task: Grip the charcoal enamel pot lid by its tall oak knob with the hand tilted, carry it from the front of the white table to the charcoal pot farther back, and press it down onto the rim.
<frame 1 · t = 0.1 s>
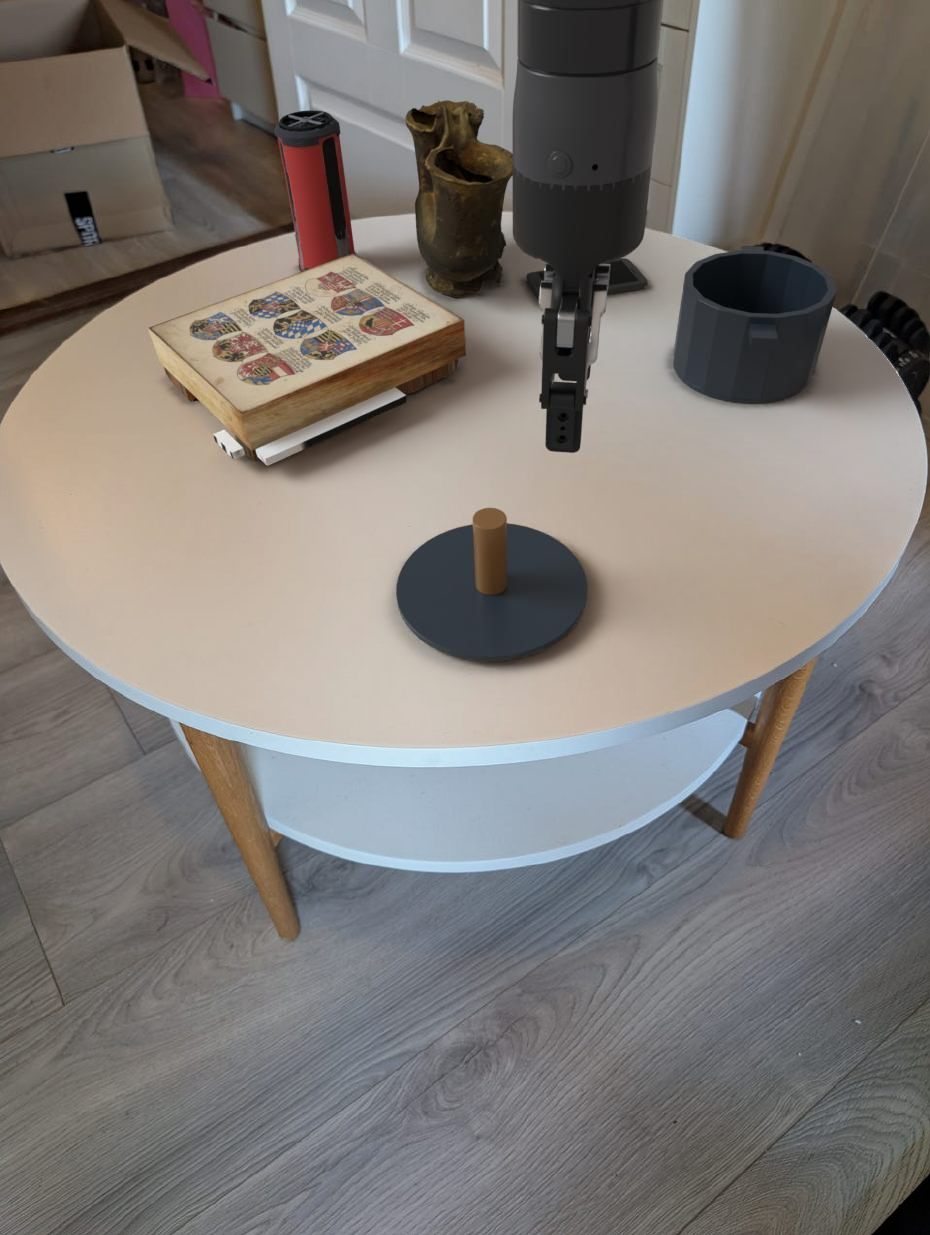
hand: (568, 412, 59), 18 cm above the table, tool pointing down, fingers open, 8 cm apart
pottery vessel: (461, 277, 113), on the table
book: (313, 385, 96), on the table
speaker: (329, 269, 116), on the table
lid: (491, 589, 72), point 1 cm above the table
cell phone: (586, 284, 109), on the table
pot: (741, 366, 95), on the table
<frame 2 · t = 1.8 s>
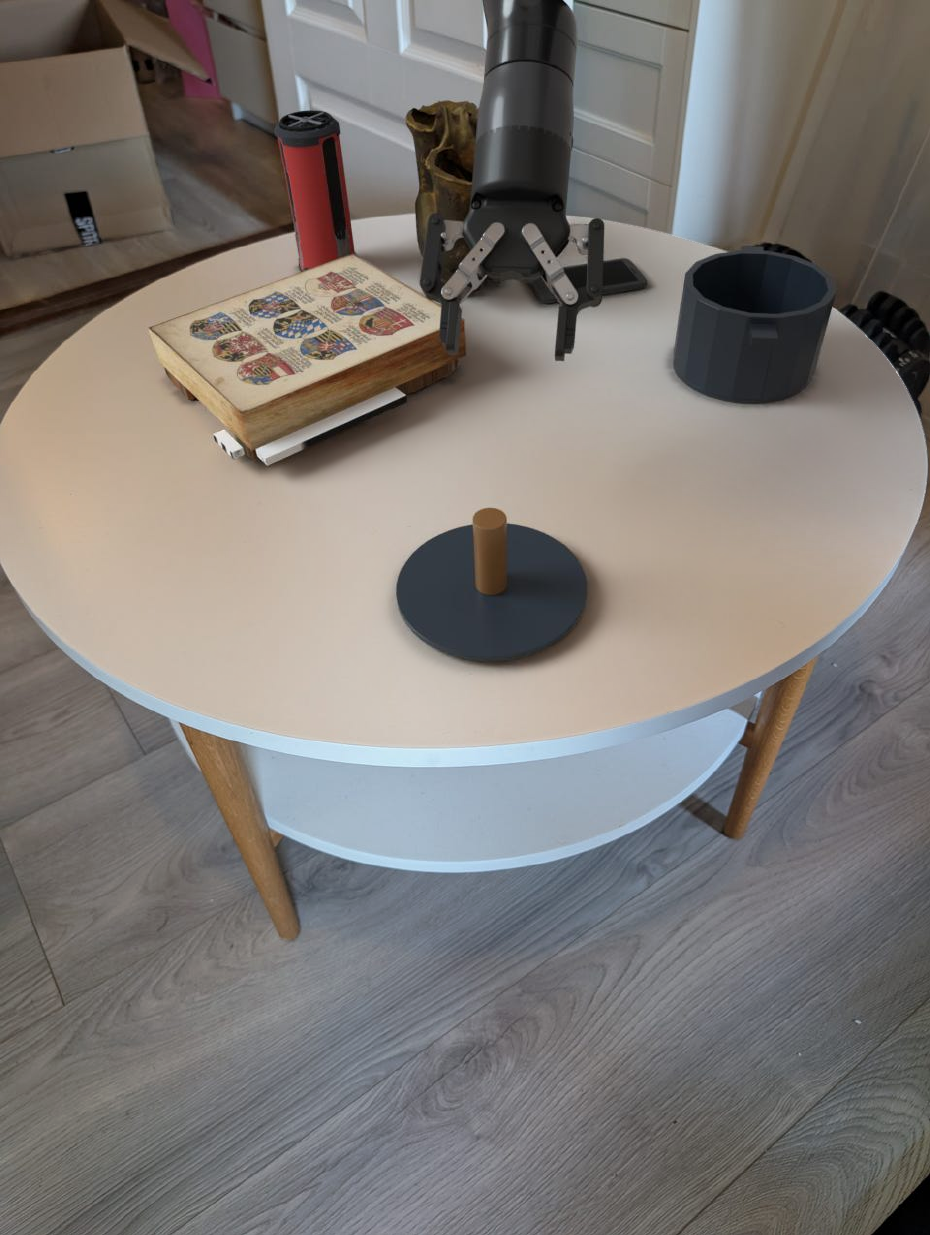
hand: (505, 355, 69), 15 cm above the table, tool tilted 45°, fingers open, 8 cm apart
nothing on the table moved.
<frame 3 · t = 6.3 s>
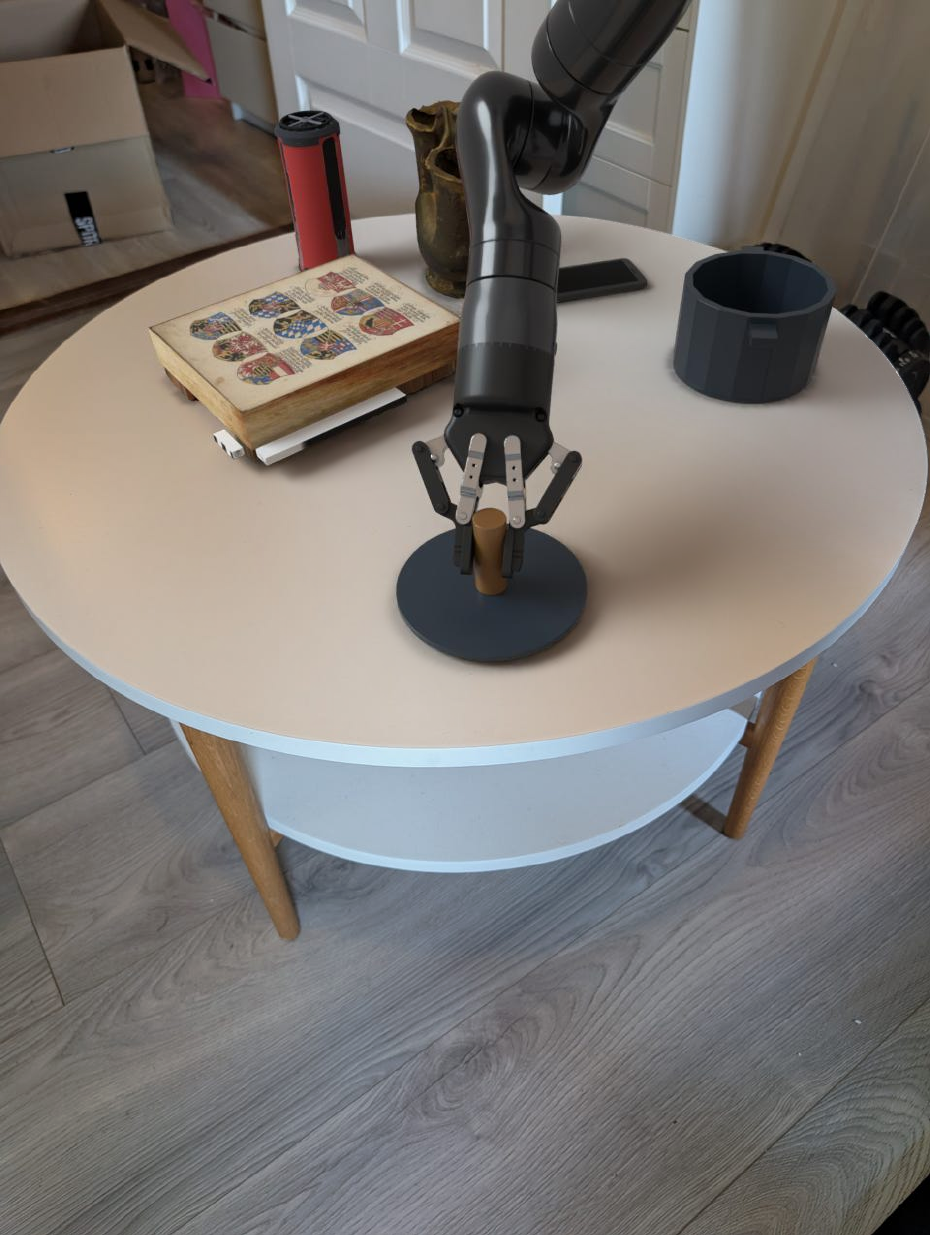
hand: (487, 575, 68), 4 cm above the table, tool tilted 45°, fingers closed on lid, 2 cm apart
lid: (491, 589, 72), point 1 cm above the table, touching gripper
everything else where it was.
when the fingers open (13 cm above the table, at t = 19.3 s): lid stays where it is, resting on pot.
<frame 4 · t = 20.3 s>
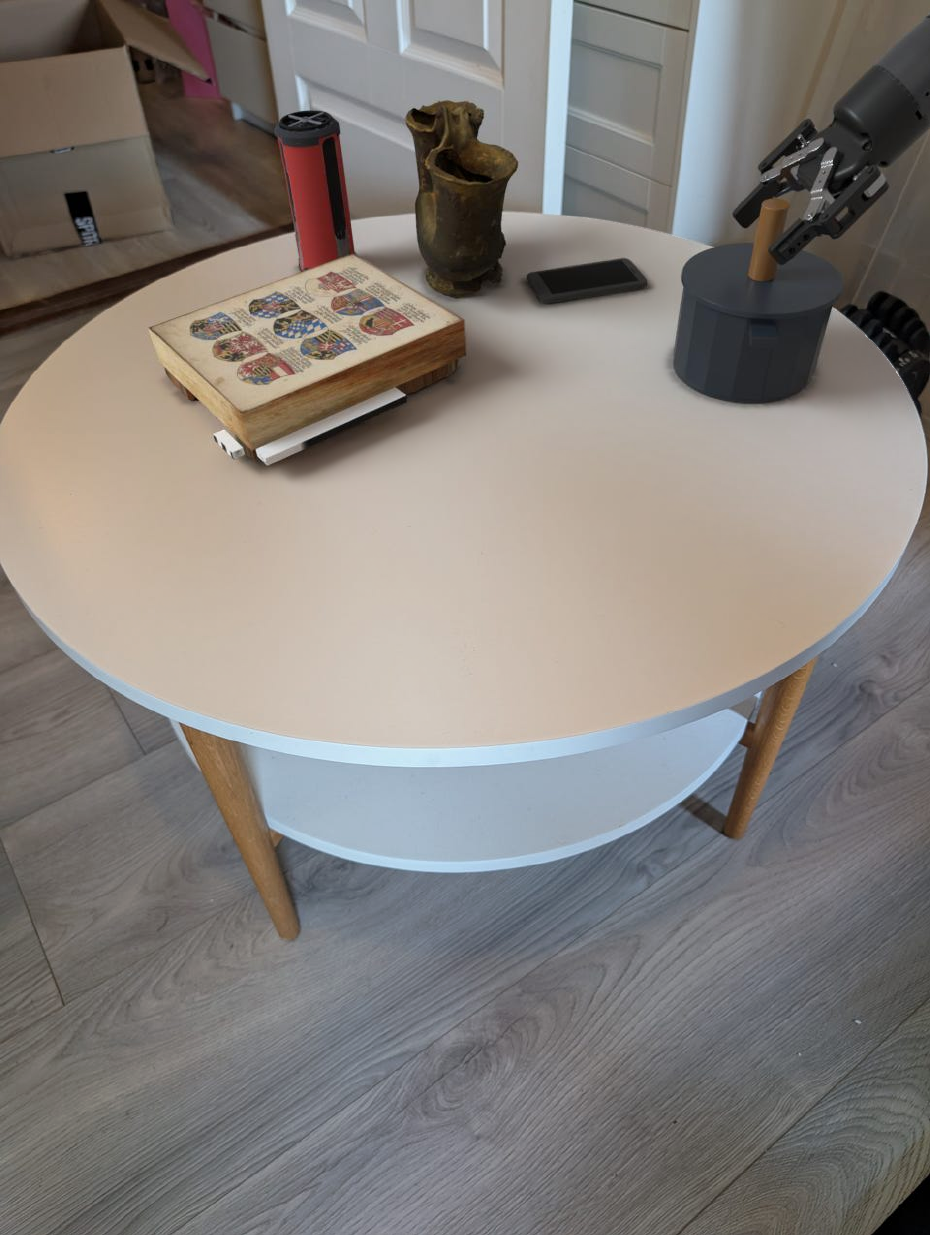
hand: (755, 239, 85), 14 cm above the table, tool tilted 45°, fingers open, 8 cm apart
lid: (759, 281, 88), point 9 cm above the table, touching pot
everything else where it was.
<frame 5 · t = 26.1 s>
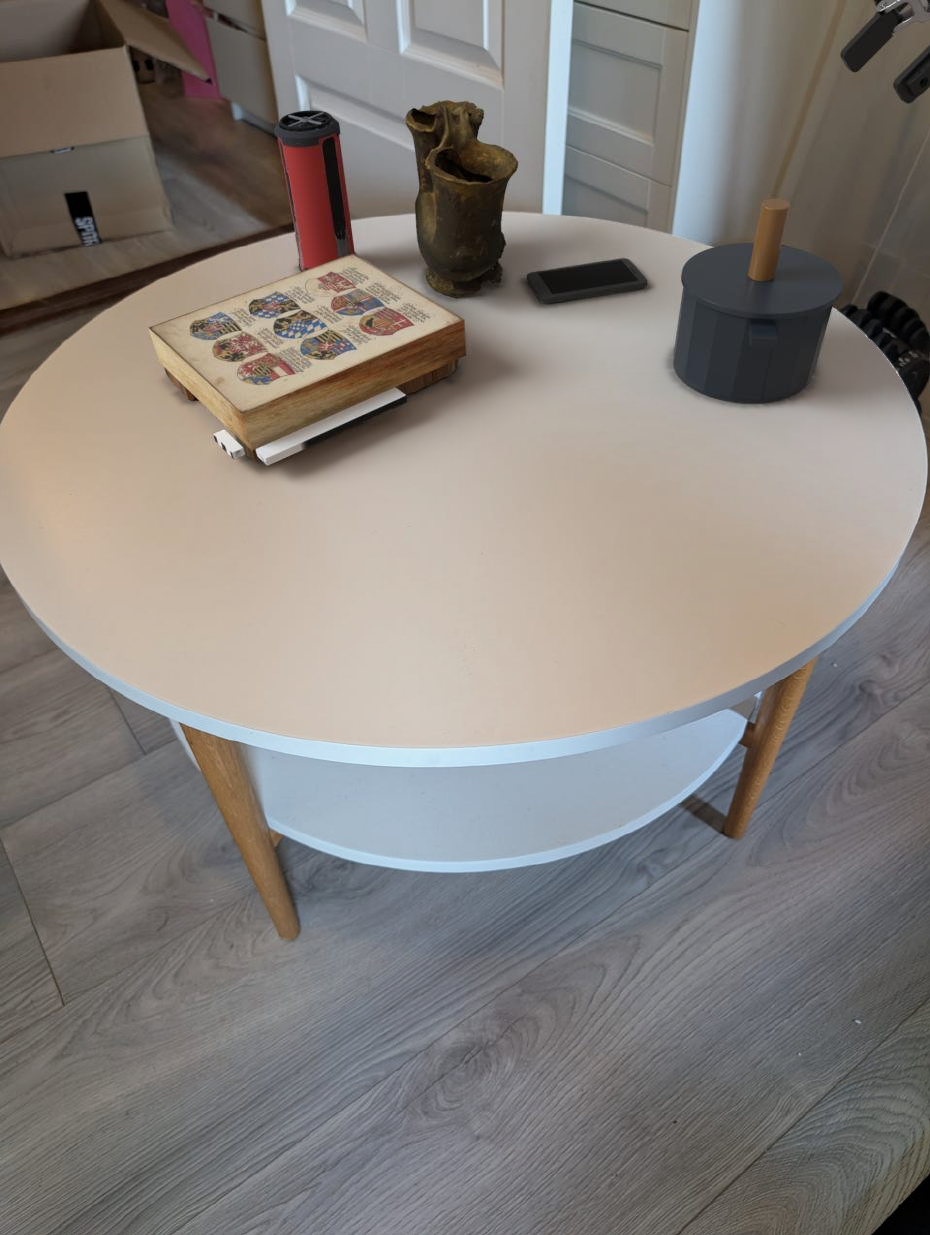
hand: (872, 79, 70), 29 cm above the table, tool tilted 45°, fingers open, 8 cm apart
nothing on the table moved.
at the end: lid 0.1 cm off-centre on the pot, point 9.5 cm above the pot's base; lid tilted 0°; the gripper is holding nothing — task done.
